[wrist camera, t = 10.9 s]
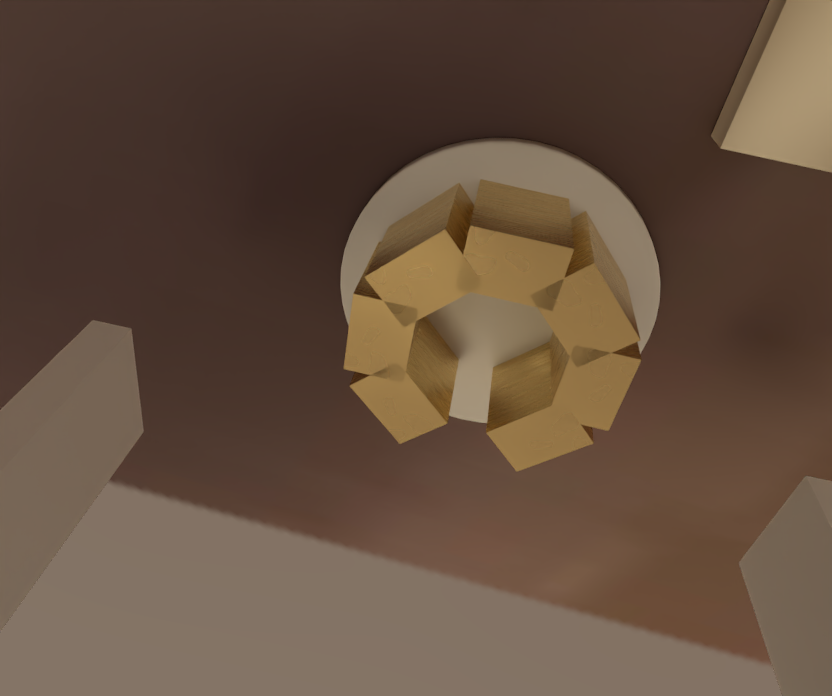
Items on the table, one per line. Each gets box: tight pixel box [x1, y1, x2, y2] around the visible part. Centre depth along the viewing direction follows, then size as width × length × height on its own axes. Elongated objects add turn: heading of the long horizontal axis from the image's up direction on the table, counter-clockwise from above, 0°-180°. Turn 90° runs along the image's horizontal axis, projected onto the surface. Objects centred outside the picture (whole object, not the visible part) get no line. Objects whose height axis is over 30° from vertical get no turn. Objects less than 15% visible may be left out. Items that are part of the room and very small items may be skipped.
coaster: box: [340, 138, 661, 423], centre depth 18 cm, size 9×9×1 cm
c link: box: [344, 179, 641, 471], centre depth 17 cm, size 7×7×3 cm
